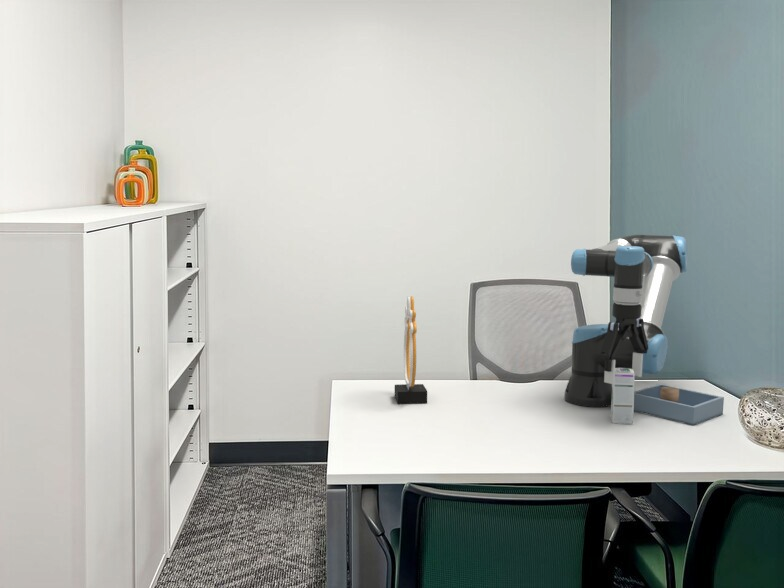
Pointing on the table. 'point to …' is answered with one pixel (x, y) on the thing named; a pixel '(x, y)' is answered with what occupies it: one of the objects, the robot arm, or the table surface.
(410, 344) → the abstract figure sculpture
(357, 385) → the table surface
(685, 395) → the tote
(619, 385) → the syrup box
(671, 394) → the walnut cylinder
